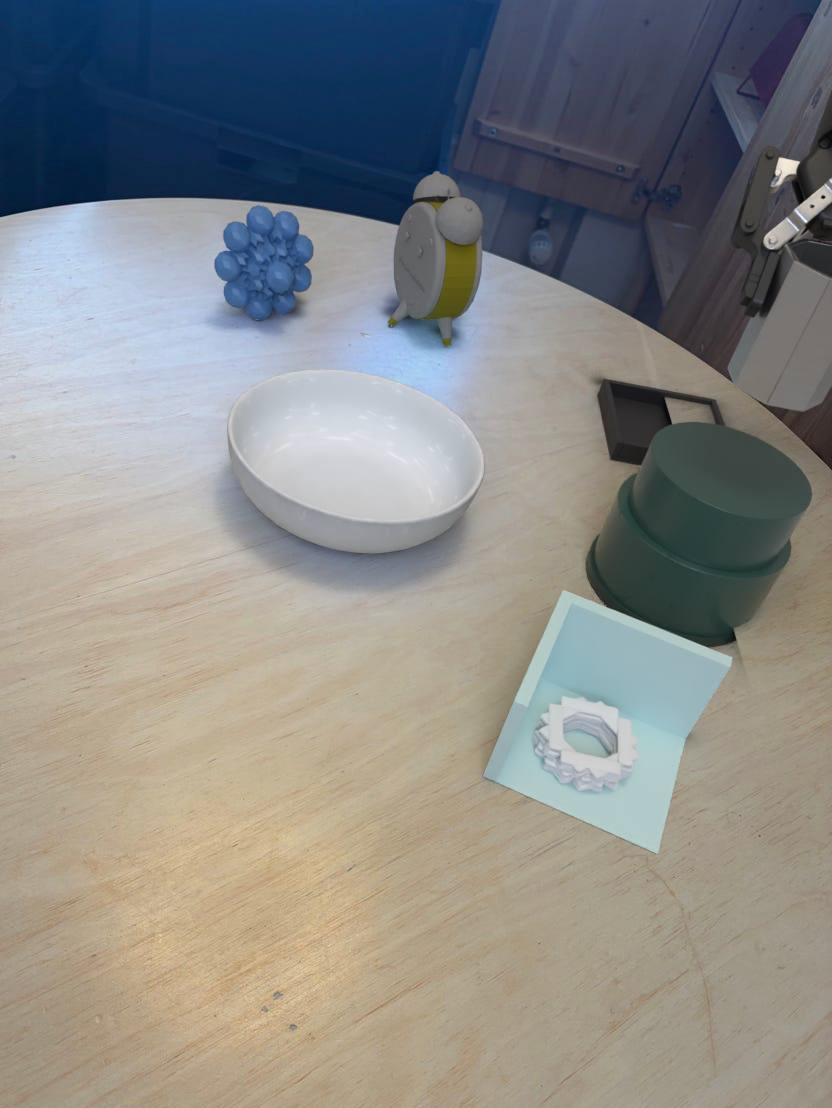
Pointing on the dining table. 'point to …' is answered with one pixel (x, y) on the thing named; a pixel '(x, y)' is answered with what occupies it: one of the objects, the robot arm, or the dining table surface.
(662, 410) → the tray
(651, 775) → the l-shaped corner panel
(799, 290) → the cup
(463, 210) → the alarm clock
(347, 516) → the serving bowl
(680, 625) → the green stepped cylinder
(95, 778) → the dining table surface
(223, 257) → the blue knobbed cluster
